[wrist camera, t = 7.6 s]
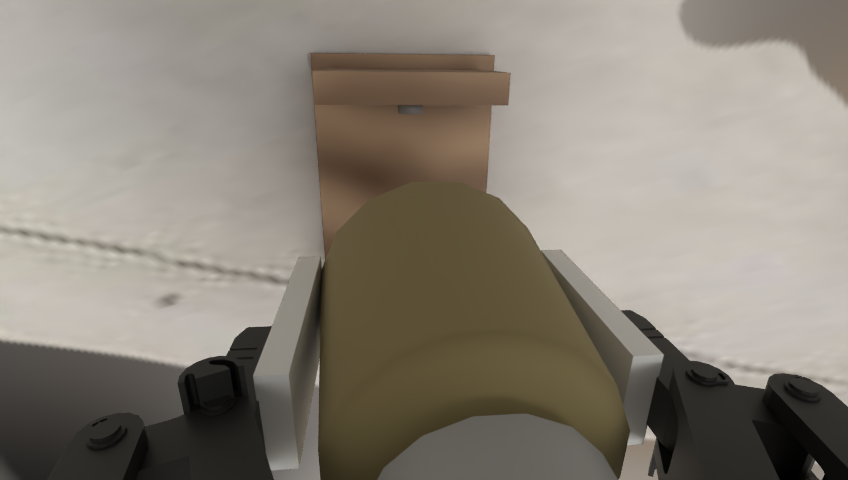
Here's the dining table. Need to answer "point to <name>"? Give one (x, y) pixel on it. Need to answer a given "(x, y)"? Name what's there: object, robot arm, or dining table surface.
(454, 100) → the holder
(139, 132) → the dining table surface
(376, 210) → the squeeze bottle
